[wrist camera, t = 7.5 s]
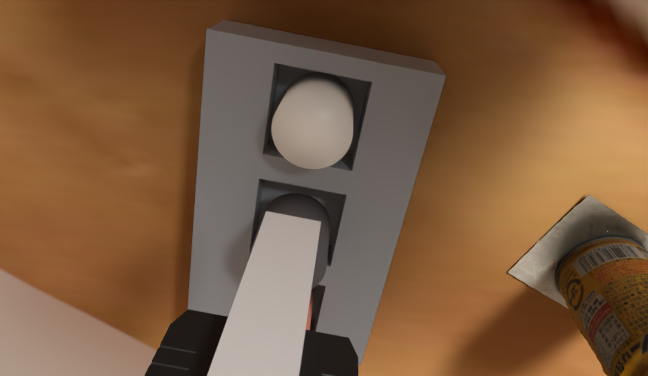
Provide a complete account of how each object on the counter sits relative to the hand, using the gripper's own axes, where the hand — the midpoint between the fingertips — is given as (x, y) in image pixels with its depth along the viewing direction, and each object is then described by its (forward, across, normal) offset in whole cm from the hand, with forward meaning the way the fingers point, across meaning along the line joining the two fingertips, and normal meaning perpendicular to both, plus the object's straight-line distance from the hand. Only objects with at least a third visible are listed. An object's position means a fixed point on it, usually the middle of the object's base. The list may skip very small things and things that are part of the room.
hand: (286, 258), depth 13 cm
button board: (+17, 0, -7) cm, 18 cm away
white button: (+15, 0, 0) cm, 15 cm away
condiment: (+17, +20, -8) cm, 27 cm away
